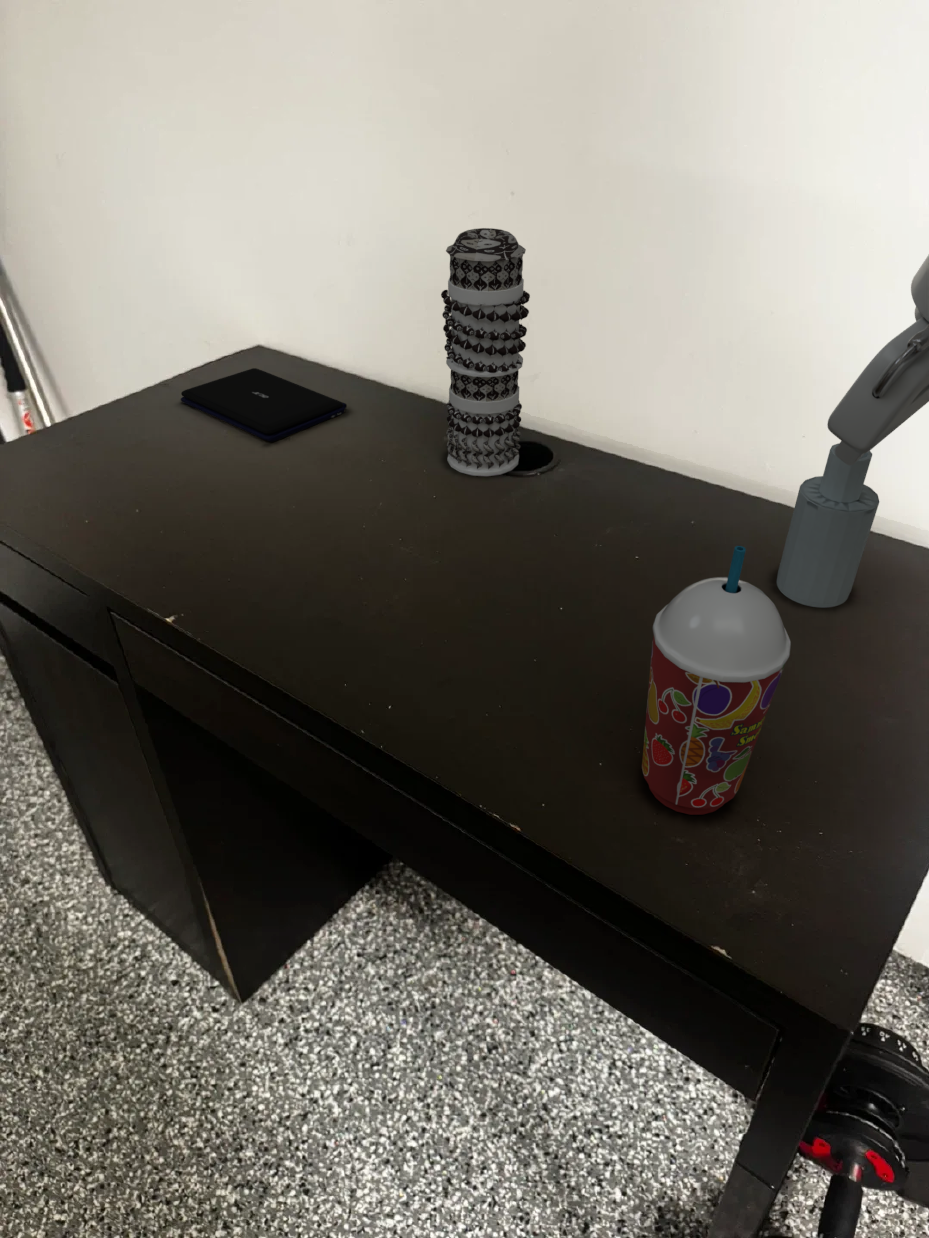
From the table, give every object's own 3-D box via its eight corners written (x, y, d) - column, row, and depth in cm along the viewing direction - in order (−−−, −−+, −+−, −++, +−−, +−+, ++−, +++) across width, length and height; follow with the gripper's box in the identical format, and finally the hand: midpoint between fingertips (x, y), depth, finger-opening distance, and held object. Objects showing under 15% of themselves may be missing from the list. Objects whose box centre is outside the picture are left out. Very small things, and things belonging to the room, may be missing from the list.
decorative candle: (511, 483, 100) (519, 249, 85) (433, 471, 102) (428, 241, 87) (531, 448, 107) (542, 227, 92) (458, 438, 109) (457, 220, 94)
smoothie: (742, 844, 60) (813, 602, 48) (618, 813, 62) (656, 573, 50) (752, 759, 66) (817, 525, 54) (639, 733, 68) (678, 503, 56)
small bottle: (863, 594, 83) (909, 457, 74) (814, 615, 80) (856, 476, 72) (809, 561, 87) (846, 429, 79) (761, 580, 85) (794, 445, 76)
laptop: (278, 371, 127) (277, 357, 125) (358, 416, 114) (357, 401, 113) (174, 399, 118) (171, 385, 117) (247, 451, 106) (245, 436, 105)
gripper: (948, 379, 54) (838, 517, 66) (1093, 260, 63) (973, 400, 75) (865, 320, 56) (772, 464, 68) (1017, 212, 65) (911, 356, 77)
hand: (879, 430), depth 71 cm, fingers open, 8 cm apart
